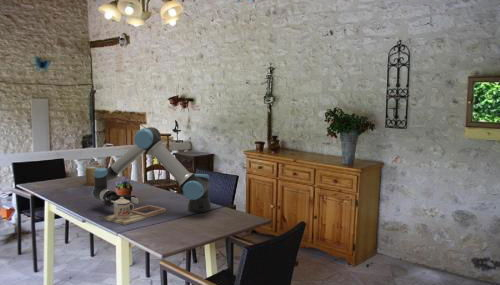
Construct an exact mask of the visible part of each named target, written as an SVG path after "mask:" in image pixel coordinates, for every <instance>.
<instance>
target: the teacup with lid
mask: <svg viewBox="0 0 500 285" xmlns="http://www.w3.org/2000/svg"><path fill="white" fill-rule="evenodd" d="M115 202H118V207H114V206H113V214H114V218H116V219H126V218H129V217H130V212H131V211H133V209H135V205H134V204H133V202H131V201H129V200H126V199H124V197H120V199H118V200H116V201H115ZM130 206H131V207H130Z"/></svg>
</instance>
